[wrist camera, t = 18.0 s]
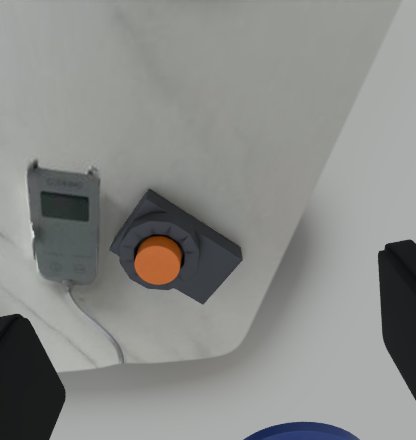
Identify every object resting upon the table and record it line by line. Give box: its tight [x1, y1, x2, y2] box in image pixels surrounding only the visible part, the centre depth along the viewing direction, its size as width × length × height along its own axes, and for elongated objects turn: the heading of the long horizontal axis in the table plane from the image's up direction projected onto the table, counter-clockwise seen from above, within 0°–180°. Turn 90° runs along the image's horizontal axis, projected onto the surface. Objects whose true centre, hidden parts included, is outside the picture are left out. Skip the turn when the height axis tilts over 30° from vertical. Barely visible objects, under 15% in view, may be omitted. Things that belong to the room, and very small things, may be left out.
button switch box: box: [109, 189, 242, 304], centre depth 34 cm, size 10×6×4 cm, turn 54°
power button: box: [135, 236, 181, 285], centre depth 32 cm, size 4×4×2 cm
